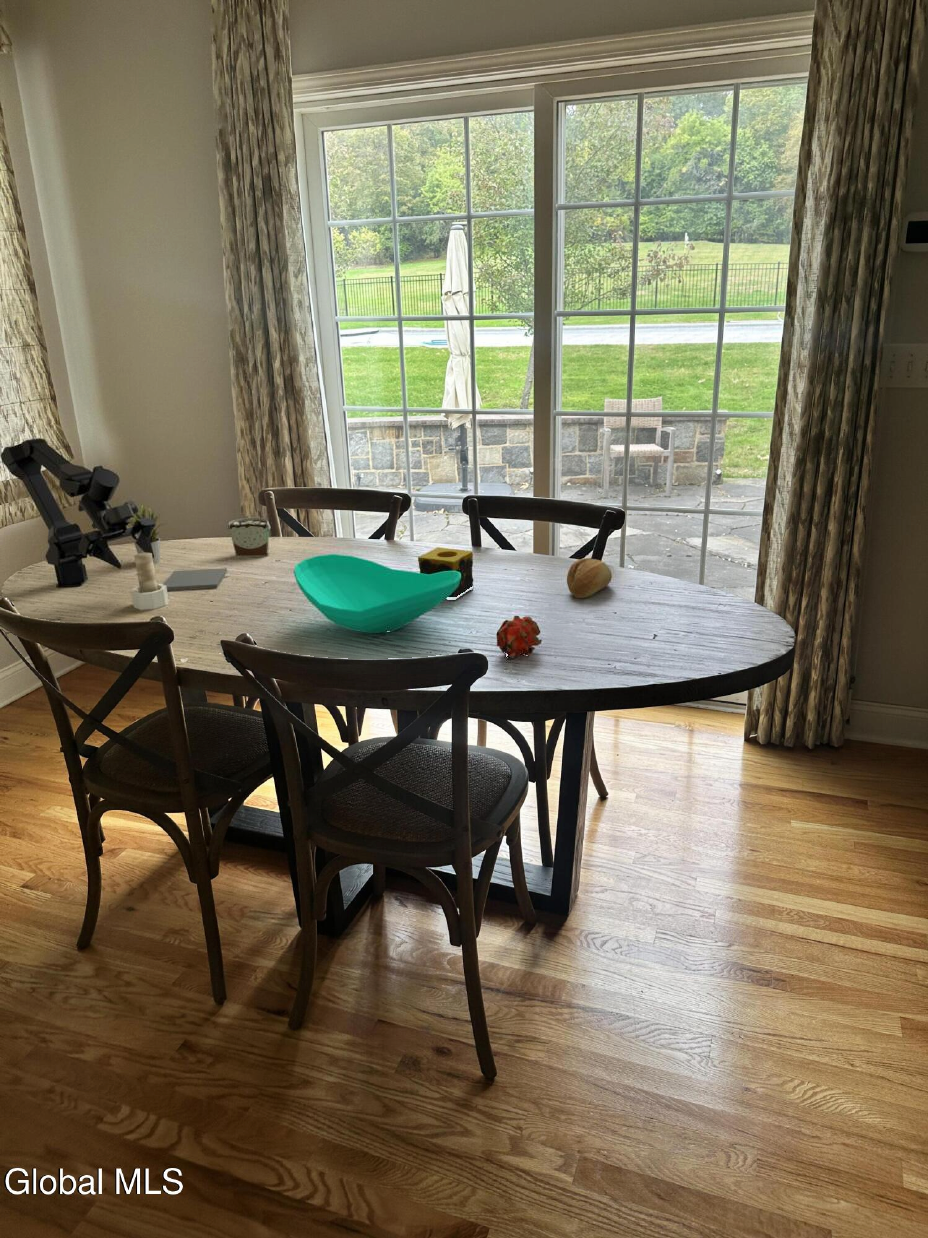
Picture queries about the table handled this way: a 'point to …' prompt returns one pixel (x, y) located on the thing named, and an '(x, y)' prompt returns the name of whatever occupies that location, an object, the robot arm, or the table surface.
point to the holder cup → (150, 598)
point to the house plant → (154, 541)
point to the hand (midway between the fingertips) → (137, 562)
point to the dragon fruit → (518, 636)
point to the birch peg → (145, 572)
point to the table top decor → (370, 591)
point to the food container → (250, 536)
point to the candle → (449, 565)
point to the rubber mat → (195, 579)
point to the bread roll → (587, 577)
